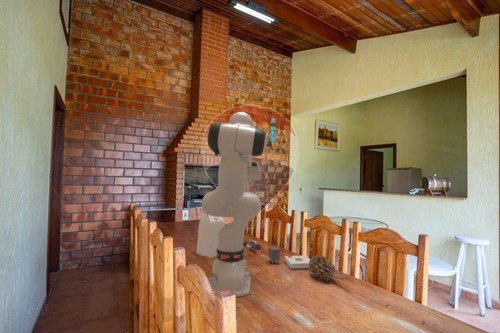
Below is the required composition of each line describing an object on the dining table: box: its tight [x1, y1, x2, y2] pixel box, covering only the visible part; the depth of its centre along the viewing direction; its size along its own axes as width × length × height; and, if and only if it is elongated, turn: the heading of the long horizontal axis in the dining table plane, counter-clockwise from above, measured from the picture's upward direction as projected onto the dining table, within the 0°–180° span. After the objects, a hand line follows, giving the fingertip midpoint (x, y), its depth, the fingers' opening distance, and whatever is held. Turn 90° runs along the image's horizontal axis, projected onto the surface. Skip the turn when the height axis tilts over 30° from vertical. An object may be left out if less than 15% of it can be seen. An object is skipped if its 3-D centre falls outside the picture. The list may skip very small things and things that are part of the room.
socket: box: [283, 255, 311, 271], centre depth 141 cm, size 12×12×4 cm
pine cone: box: [308, 254, 349, 282], centre depth 121 cm, size 22×10×10 cm, turn 36°
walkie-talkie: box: [243, 239, 262, 253], centre depth 169 cm, size 9×4×20 cm
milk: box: [195, 213, 226, 259], centre depth 158 cm, size 12×12×26 cm
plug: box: [268, 246, 281, 265], centre depth 144 cm, size 6×5×8 cm
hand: (242, 188), depth 148 cm, fingers open, 8 cm apart
